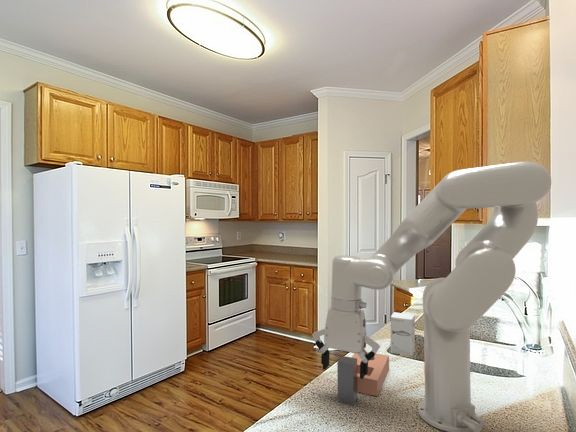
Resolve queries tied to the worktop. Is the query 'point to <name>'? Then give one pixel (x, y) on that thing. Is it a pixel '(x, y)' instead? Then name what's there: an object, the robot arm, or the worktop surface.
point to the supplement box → (403, 333)
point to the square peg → (347, 380)
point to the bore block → (372, 374)
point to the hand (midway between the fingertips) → (343, 372)
